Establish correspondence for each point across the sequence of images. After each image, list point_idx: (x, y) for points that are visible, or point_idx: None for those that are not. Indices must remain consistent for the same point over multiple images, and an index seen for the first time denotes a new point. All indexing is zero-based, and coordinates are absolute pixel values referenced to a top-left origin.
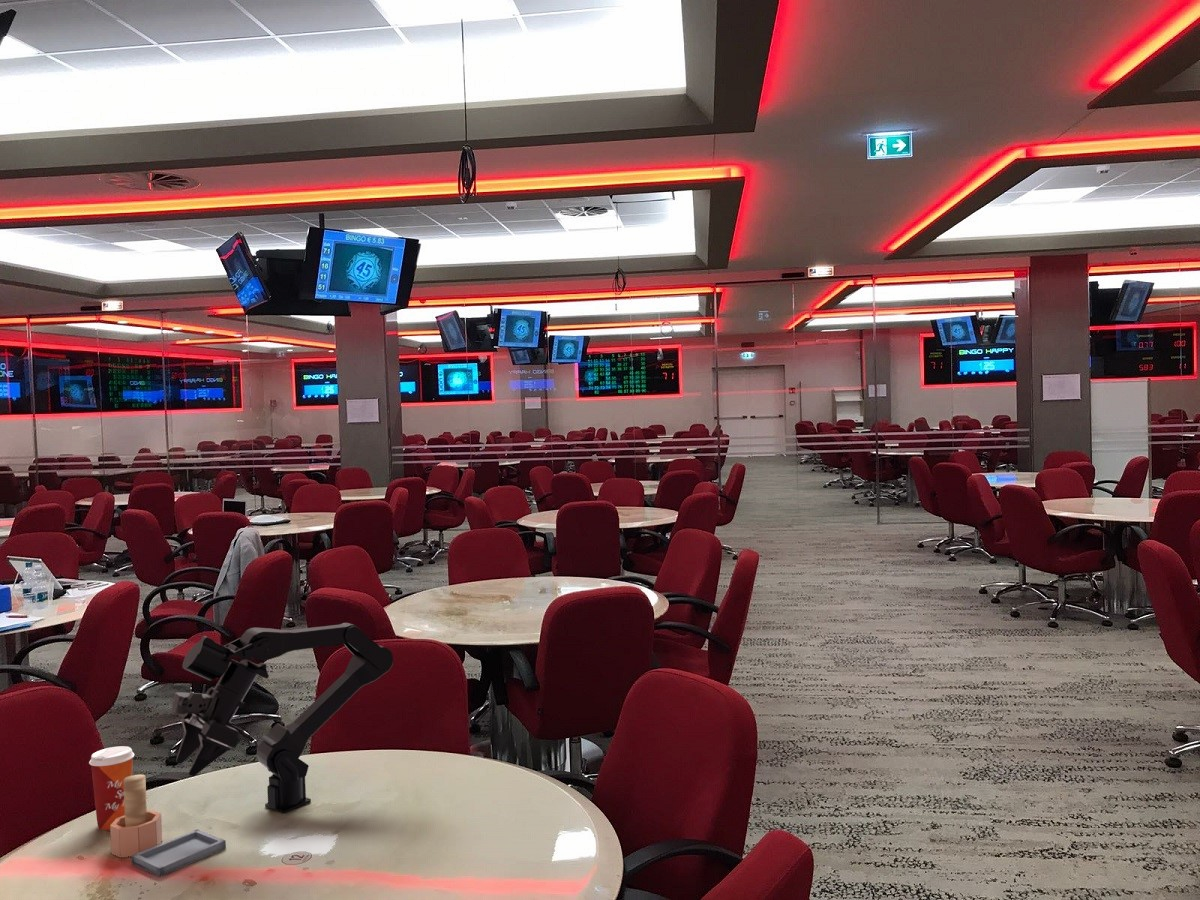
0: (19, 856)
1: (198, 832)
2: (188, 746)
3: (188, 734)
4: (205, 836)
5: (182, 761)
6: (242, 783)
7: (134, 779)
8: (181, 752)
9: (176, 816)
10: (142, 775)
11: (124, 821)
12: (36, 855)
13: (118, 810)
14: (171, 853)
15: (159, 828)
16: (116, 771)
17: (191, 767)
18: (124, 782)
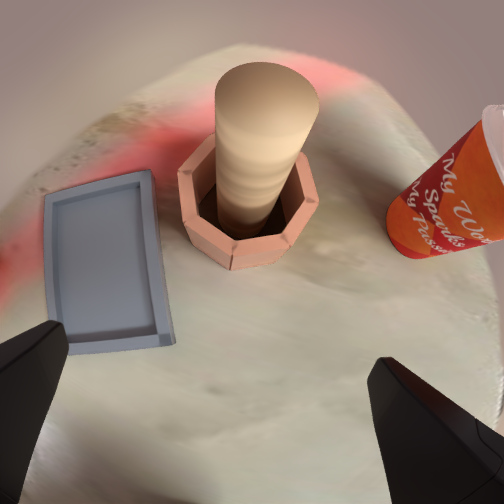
0: (365, 82)
1: (147, 337)
2: (417, 457)
3: (482, 492)
4: (112, 339)
5: (369, 391)
6: None
7: (248, 89)
8: (404, 402)
9: (361, 348)
10: (282, 129)
11: (294, 176)
12: (352, 93)
13: (406, 210)
14: (112, 249)
15: (212, 251)
16: (472, 159)
17: (25, 335)
18: (259, 65)
